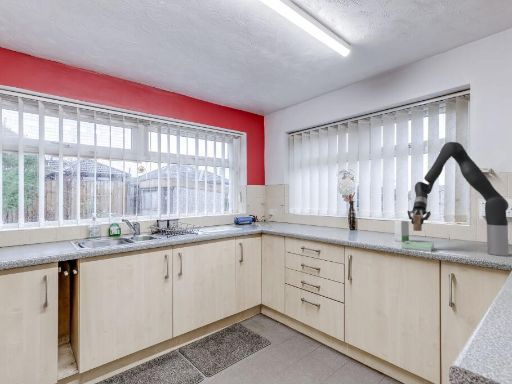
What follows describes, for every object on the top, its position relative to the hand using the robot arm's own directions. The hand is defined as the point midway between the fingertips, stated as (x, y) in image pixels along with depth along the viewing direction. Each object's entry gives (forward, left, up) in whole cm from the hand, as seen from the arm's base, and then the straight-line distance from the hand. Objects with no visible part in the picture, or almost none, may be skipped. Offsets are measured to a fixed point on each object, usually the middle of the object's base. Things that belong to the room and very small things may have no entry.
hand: (416, 223), depth 176 cm
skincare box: (+15, -28, -16) cm, 36 cm away
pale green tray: (0, -2, -16) cm, 16 cm away
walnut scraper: (0, -2, -5) cm, 5 cm away
